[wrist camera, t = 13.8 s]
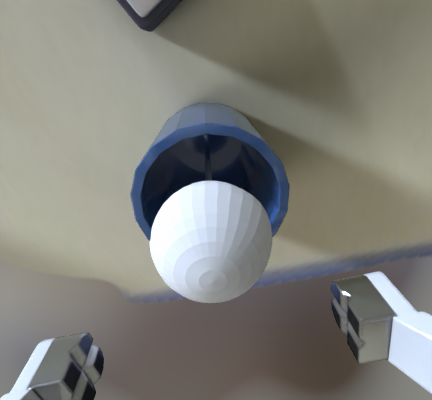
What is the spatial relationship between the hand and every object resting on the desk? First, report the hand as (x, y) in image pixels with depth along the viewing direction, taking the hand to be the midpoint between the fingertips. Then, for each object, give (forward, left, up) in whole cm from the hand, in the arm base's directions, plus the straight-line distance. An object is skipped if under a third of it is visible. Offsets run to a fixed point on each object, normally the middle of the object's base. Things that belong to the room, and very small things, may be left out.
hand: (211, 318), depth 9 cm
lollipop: (0, 0, -17) cm, 17 cm away
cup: (0, 0, -18) cm, 18 cm away
